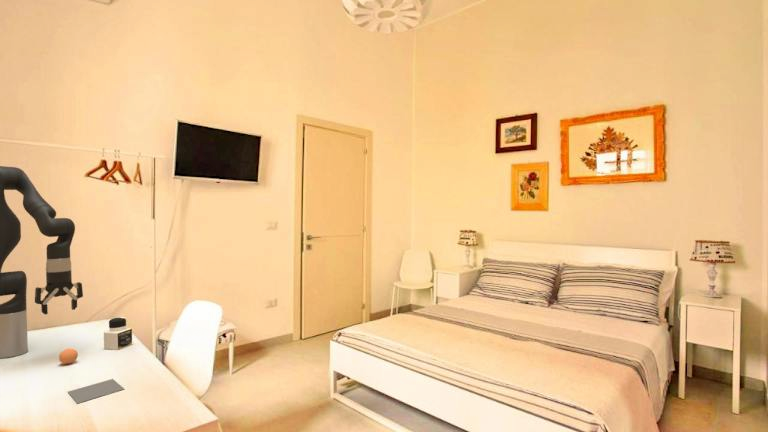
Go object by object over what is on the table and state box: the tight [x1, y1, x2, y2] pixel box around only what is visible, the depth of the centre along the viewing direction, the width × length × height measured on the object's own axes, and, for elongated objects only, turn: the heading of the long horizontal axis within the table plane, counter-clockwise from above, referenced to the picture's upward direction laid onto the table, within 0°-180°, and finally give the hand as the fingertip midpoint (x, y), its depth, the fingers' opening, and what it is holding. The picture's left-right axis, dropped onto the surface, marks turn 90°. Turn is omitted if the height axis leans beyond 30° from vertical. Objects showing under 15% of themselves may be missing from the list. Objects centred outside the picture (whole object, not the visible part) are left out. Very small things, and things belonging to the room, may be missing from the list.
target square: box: [67, 378, 125, 405], centre depth 124 cm, size 12×12×1 cm
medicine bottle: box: [103, 316, 133, 351], centre depth 166 cm, size 7×7×12 cm
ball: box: [58, 348, 79, 365], centre depth 148 cm, size 6×6×6 cm
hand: (59, 311), depth 153 cm, fingers open, 8 cm apart
